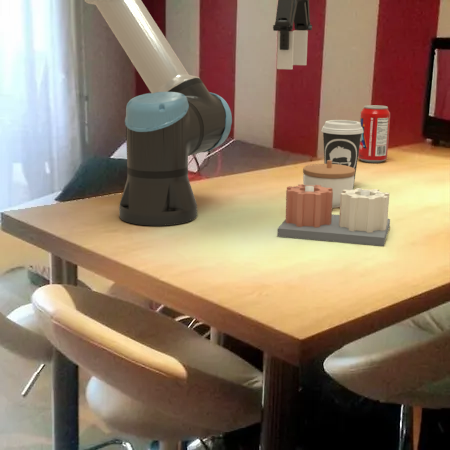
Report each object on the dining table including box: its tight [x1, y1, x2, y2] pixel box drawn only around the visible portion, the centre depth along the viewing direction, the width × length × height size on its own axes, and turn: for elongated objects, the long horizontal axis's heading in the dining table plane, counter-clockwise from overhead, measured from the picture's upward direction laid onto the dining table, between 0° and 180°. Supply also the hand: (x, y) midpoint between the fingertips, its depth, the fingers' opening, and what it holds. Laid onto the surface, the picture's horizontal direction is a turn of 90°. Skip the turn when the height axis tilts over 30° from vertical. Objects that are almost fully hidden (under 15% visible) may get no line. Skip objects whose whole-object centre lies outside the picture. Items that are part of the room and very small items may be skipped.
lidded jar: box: [302, 160, 356, 209], centre depth 153 cm, size 11×11×9 cm
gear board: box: [276, 186, 391, 247], centre depth 134 cm, size 19×13×8 cm
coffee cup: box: [320, 119, 364, 189], centre depth 169 cm, size 10×10×15 cm
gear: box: [284, 184, 333, 227], centre depth 135 cm, size 8×8×6 cm
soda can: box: [358, 104, 391, 164], centre depth 202 cm, size 8×8×15 cm
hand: (292, 67), depth 138 cm, fingers open, 13 cm apart
